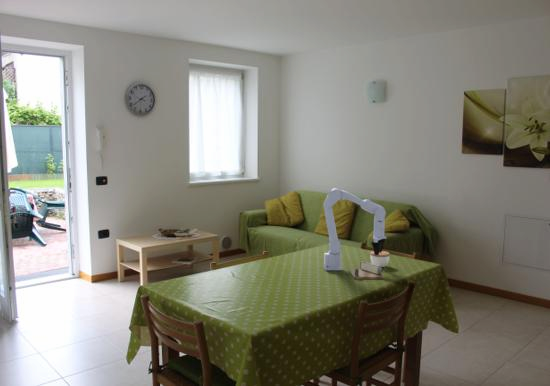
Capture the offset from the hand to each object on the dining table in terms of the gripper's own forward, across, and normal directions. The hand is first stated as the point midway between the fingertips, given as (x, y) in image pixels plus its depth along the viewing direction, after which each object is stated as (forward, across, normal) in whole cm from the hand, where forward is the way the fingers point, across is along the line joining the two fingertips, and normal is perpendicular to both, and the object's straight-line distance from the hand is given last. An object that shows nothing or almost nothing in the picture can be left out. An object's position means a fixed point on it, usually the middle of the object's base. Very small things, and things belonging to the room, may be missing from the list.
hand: (378, 253), depth 265 cm
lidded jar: (+10, +9, +1) cm, 13 cm away
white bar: (+8, -9, +2) cm, 12 cm away
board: (+10, -12, +4) cm, 16 cm away
